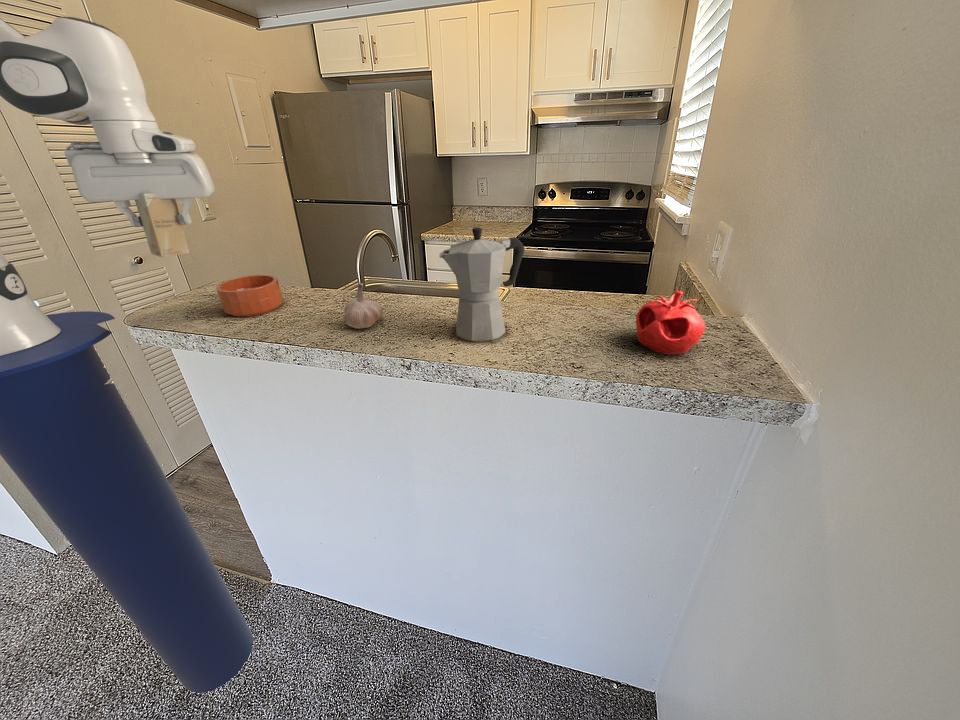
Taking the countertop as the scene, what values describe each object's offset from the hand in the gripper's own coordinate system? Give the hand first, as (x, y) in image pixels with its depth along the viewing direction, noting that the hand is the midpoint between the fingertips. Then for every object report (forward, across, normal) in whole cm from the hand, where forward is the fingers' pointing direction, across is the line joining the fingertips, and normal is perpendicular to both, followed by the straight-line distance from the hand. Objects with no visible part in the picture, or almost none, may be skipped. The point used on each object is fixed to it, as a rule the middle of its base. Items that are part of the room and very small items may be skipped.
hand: (163, 225), depth 76 cm
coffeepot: (+17, +55, -27) cm, 64 cm away
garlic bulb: (+18, +34, -17) cm, 42 cm away
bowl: (+18, +11, 0) cm, 21 cm away
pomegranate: (+17, +81, -42) cm, 93 cm away
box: (+6, 0, 0) cm, 6 cm away
